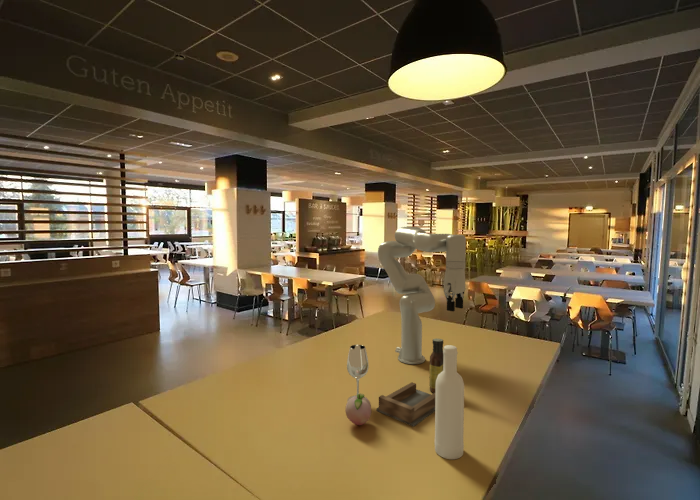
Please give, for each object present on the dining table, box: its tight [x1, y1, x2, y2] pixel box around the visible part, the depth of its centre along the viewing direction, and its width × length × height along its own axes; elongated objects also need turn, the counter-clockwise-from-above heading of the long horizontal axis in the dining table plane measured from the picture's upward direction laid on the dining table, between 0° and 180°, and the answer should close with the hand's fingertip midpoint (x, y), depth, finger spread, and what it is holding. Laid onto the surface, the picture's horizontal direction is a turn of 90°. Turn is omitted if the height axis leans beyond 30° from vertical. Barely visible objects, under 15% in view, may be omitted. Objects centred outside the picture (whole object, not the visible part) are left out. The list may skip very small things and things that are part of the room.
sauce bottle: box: [428, 338, 444, 394], centre depth 143 cm, size 7×6×20 cm
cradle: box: [375, 382, 435, 428], centre depth 131 cm, size 15×22×5 cm
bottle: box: [434, 344, 465, 460], centre depth 104 cm, size 8×8×30 cm
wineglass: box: [346, 344, 370, 402], centre depth 135 cm, size 8×8×20 cm
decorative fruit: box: [344, 392, 372, 426], centre depth 119 cm, size 9×8×10 cm
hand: (454, 309), depth 151 cm, fingers open, 6 cm apart
